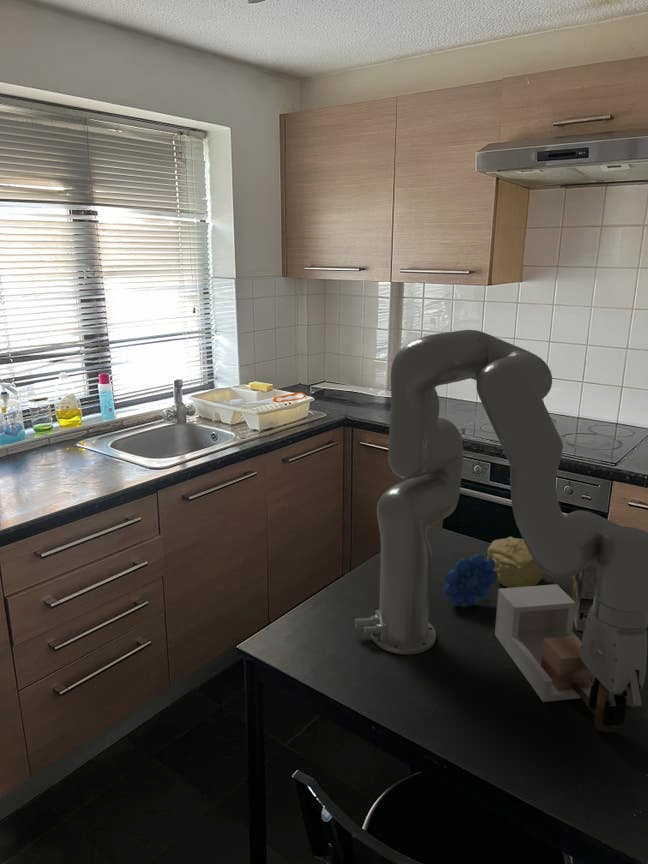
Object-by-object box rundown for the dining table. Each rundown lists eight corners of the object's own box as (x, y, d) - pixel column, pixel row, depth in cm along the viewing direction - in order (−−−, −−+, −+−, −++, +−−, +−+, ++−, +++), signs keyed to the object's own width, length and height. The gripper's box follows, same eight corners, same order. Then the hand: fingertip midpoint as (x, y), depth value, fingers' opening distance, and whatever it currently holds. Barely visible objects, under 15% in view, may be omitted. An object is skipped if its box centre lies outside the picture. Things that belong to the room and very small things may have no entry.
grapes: (487, 593, 142) (491, 543, 138) (499, 609, 135) (504, 557, 132) (436, 597, 140) (439, 546, 137) (446, 613, 134) (449, 561, 130)
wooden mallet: (591, 734, 98) (597, 689, 96) (540, 668, 114) (544, 628, 112) (627, 730, 99) (634, 685, 97) (572, 665, 115) (577, 625, 113)
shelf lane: (543, 701, 107) (548, 649, 105) (494, 634, 126) (498, 588, 124) (609, 694, 109) (616, 643, 106) (551, 629, 128) (556, 584, 125)
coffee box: (610, 634, 126) (620, 560, 122) (575, 631, 128) (584, 556, 123) (600, 610, 135) (609, 539, 131) (568, 607, 136) (576, 537, 132)
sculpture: (478, 580, 147) (481, 537, 144) (511, 566, 154) (514, 524, 151) (519, 601, 138) (523, 555, 136) (552, 585, 145) (557, 541, 142)
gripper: (568, 584, 102) (556, 684, 107) (630, 644, 86) (613, 757, 91) (611, 581, 103) (598, 680, 108) (681, 639, 88) (662, 751, 92)
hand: (605, 714), depth 100 cm, fingers closed on wooden mallet, 3 cm apart
